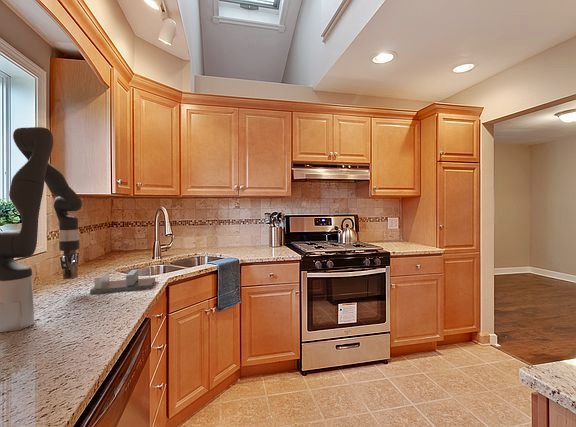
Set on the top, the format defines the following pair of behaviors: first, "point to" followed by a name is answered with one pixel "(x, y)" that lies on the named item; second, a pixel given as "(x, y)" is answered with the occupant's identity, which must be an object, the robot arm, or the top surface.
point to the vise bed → (118, 284)
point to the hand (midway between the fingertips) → (70, 276)
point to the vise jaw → (131, 277)
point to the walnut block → (72, 272)
